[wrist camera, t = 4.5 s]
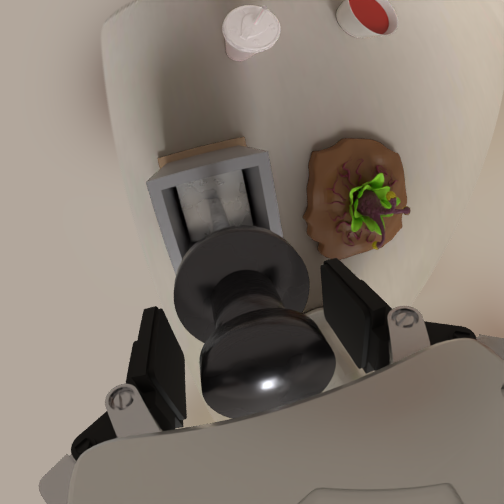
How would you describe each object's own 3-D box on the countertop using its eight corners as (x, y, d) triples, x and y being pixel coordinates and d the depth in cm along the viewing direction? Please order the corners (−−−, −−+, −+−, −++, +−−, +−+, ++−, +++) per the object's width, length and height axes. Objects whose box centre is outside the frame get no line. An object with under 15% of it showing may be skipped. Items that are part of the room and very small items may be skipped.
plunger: (239, 163, 29) (375, 259, 7) (251, 223, 32) (361, 402, 10) (175, 180, 28) (117, 329, 6) (191, 239, 31) (201, 448, 9)
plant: (397, 134, 41) (443, 141, 31) (399, 237, 49) (437, 261, 39) (292, 144, 39) (325, 148, 28) (306, 262, 47) (334, 297, 37)
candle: (383, 27, 32) (405, 19, 26) (360, 53, 34) (382, 45, 28) (346, -8, 28) (365, -21, 23) (319, 16, 30) (337, 2, 24)
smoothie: (269, 45, 32) (305, 9, 19) (246, 77, 33) (273, 49, 21) (231, 24, 29) (250, -22, 17) (207, 56, 31) (214, 18, 18)
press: (243, 136, 37) (277, 137, 21) (259, 216, 42) (298, 267, 26) (158, 158, 35) (131, 173, 20) (180, 237, 40) (174, 300, 25)
